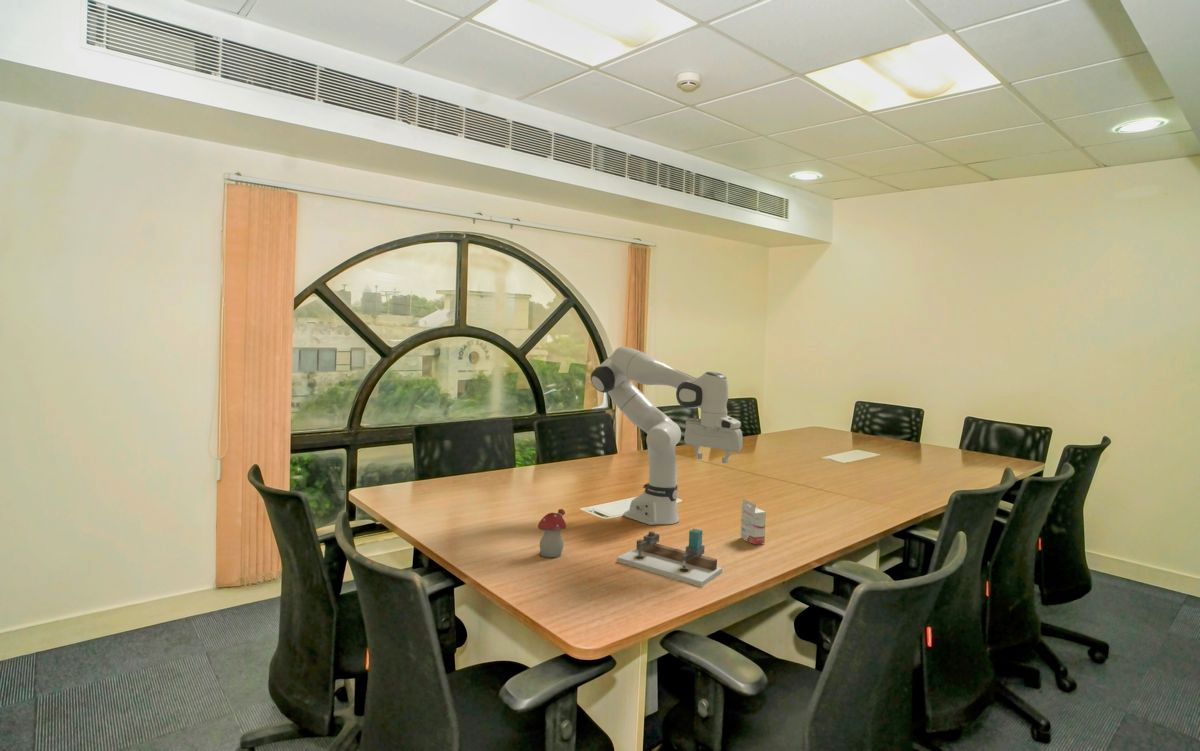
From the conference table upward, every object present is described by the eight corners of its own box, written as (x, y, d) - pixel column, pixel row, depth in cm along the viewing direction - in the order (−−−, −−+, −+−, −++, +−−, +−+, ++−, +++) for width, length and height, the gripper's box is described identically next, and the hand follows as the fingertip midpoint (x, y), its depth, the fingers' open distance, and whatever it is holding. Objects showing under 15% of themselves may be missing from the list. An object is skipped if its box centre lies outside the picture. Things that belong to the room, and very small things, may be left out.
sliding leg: (677, 566, 181) (678, 535, 181) (692, 557, 189) (693, 527, 189) (689, 569, 179) (690, 538, 178) (703, 560, 187) (705, 530, 187)
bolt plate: (616, 561, 190) (617, 556, 190) (640, 550, 202) (640, 545, 202) (701, 586, 173) (702, 581, 173) (722, 572, 184) (722, 567, 184)
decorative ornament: (565, 551, 198) (566, 507, 197) (566, 558, 192) (567, 512, 191) (537, 551, 197) (538, 507, 196) (537, 558, 191) (538, 512, 190)
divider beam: (625, 554, 192) (626, 534, 192) (641, 546, 201) (642, 527, 200) (704, 577, 176) (705, 555, 176) (718, 567, 184) (719, 546, 184)
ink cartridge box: (765, 544, 212) (767, 503, 211) (753, 545, 210) (755, 504, 209) (751, 536, 220) (753, 497, 219) (739, 537, 218) (741, 498, 217)
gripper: (681, 418, 204) (680, 457, 205) (738, 424, 192) (736, 466, 193) (690, 416, 209) (688, 455, 210) (745, 422, 197) (743, 463, 198)
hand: (711, 460), depth 201 cm, fingers open, 8 cm apart
